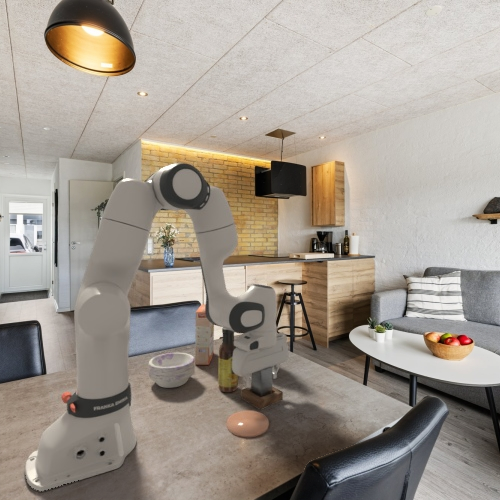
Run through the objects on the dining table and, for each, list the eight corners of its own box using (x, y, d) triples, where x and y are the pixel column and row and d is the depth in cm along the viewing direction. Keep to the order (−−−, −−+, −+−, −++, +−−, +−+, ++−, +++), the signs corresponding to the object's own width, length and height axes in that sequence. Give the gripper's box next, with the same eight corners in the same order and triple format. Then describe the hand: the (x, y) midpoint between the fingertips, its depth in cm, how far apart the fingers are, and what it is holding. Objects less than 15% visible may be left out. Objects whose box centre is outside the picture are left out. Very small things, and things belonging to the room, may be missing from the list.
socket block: (260, 409, 95) (260, 401, 94) (241, 397, 101) (241, 389, 101) (282, 399, 100) (282, 391, 100) (262, 389, 107) (263, 381, 107)
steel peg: (261, 404, 98) (261, 371, 97) (251, 398, 101) (251, 366, 101) (272, 399, 101) (272, 367, 100) (262, 394, 104) (262, 362, 104)
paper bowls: (168, 370, 122) (168, 348, 122) (203, 377, 116) (203, 355, 116) (138, 386, 109) (138, 363, 108) (176, 396, 102) (175, 371, 102)
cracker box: (210, 365, 126) (210, 311, 126) (194, 365, 127) (194, 311, 126) (214, 352, 140) (214, 304, 140) (200, 352, 140) (200, 304, 140)
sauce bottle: (234, 394, 104) (235, 331, 103) (215, 392, 105) (215, 330, 104) (239, 385, 110) (239, 326, 109) (221, 383, 111) (221, 325, 111)
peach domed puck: (244, 442, 79) (244, 439, 79) (218, 422, 88) (218, 419, 88) (277, 426, 86) (277, 423, 86) (250, 409, 95) (250, 406, 95)
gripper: (279, 329, 109) (279, 370, 110) (229, 341, 96) (229, 388, 97) (293, 333, 104) (292, 376, 105) (242, 347, 91) (242, 396, 92)
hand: (261, 382), depth 101 cm, fingers open, 8 cm apart
